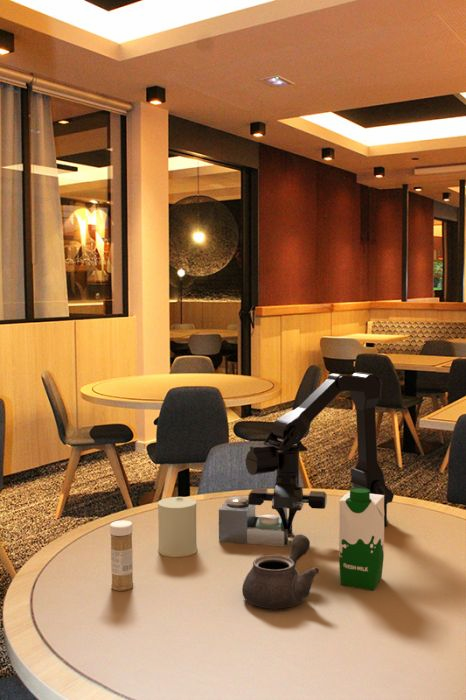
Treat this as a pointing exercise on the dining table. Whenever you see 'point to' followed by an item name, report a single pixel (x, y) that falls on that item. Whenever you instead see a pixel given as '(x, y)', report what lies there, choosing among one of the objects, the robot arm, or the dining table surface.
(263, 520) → the teal cube with ball
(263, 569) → the teapot
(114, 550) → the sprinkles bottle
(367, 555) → the milk carton
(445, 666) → the dining table surface
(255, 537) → the motor mount
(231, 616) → the dining table surface
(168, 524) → the can
